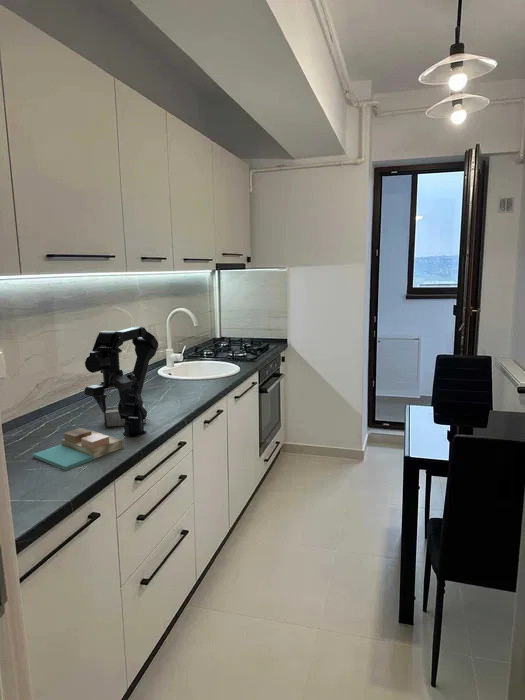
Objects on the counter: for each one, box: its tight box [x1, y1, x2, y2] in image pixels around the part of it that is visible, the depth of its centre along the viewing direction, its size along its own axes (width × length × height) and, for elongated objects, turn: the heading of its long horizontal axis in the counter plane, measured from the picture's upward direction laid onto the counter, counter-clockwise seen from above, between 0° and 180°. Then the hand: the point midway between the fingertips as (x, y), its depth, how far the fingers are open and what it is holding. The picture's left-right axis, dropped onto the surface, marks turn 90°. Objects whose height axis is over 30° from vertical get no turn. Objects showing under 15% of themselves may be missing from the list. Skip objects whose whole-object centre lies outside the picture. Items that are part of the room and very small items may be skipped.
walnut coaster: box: [63, 427, 92, 443], centre depth 167 cm, size 6×6×2 cm
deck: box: [61, 429, 124, 460], centre depth 166 cm, size 12×18×3 cm, turn 54°
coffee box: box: [103, 403, 147, 428], centre depth 193 cm, size 9×6×16 cm
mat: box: [32, 444, 94, 471], centre depth 157 cm, size 10×19×1 cm, turn 54°
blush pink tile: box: [81, 432, 110, 449], centre depth 161 cm, size 6×6×2 cm
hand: (113, 410), depth 167 cm, fingers open, 8 cm apart
